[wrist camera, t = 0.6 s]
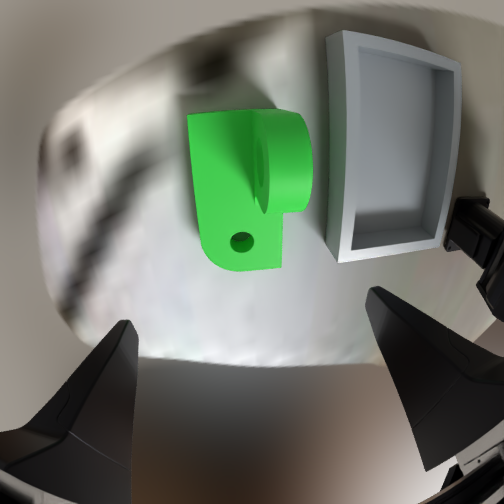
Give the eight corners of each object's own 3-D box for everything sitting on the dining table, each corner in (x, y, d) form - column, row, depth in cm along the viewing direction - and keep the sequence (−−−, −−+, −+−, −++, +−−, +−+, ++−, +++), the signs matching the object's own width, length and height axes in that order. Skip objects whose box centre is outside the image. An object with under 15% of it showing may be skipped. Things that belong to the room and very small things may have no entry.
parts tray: (437, 62, 15) (460, 63, 13) (422, 231, 24) (439, 246, 22) (325, 37, 14) (342, 29, 12) (325, 243, 23) (337, 263, 21)
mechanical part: (189, 113, 17) (171, 124, 10) (276, 108, 17) (314, 117, 11) (206, 260, 23) (204, 331, 17) (276, 254, 24) (300, 321, 17)
